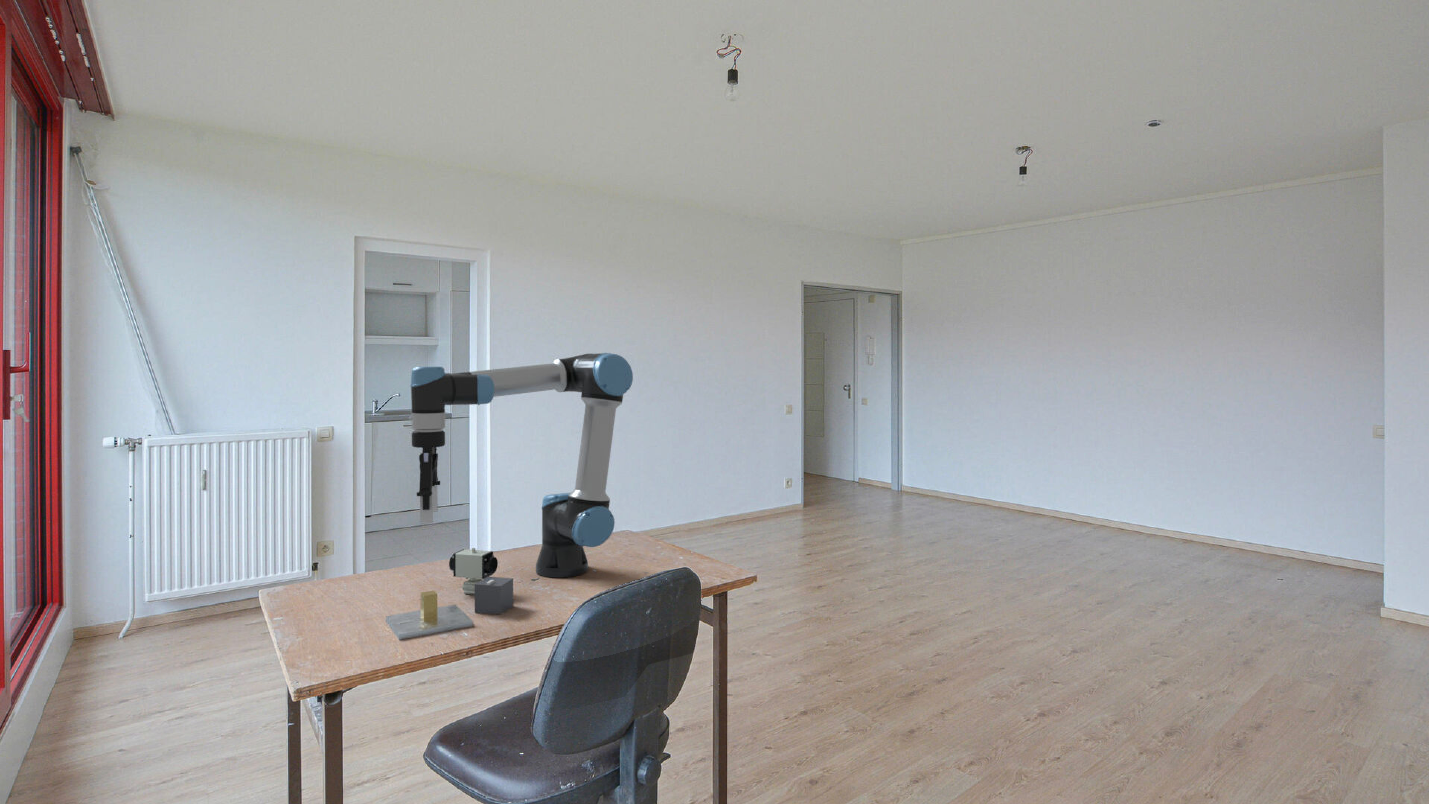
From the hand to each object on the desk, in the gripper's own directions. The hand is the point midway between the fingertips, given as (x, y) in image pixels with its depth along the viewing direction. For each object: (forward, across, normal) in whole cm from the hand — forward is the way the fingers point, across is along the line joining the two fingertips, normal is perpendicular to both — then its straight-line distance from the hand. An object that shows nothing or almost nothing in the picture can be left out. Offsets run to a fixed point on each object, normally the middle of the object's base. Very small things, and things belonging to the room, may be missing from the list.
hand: (429, 517), depth 177 cm
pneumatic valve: (+24, -13, +10) cm, 29 cm away
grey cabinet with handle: (+23, +2, +15) cm, 28 cm away
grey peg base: (+23, +9, 0) cm, 25 cm away
